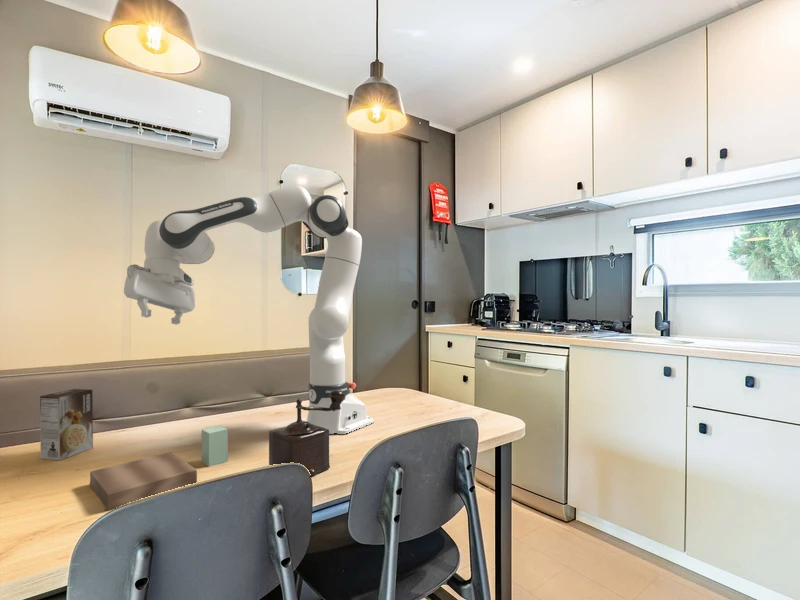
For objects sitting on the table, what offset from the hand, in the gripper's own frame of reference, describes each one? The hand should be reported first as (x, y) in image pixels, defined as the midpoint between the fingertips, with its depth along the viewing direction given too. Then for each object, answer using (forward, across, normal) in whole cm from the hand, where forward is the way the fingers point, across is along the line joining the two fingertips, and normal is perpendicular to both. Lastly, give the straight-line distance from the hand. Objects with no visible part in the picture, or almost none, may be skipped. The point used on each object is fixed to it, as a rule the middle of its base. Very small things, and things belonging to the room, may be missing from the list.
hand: (161, 320), depth 112 cm
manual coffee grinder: (+44, +10, -34) cm, 57 cm away
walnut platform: (+41, -9, -6) cm, 43 cm away
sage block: (+39, +6, -11) cm, 41 cm away
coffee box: (+30, -2, +29) cm, 42 cm away
